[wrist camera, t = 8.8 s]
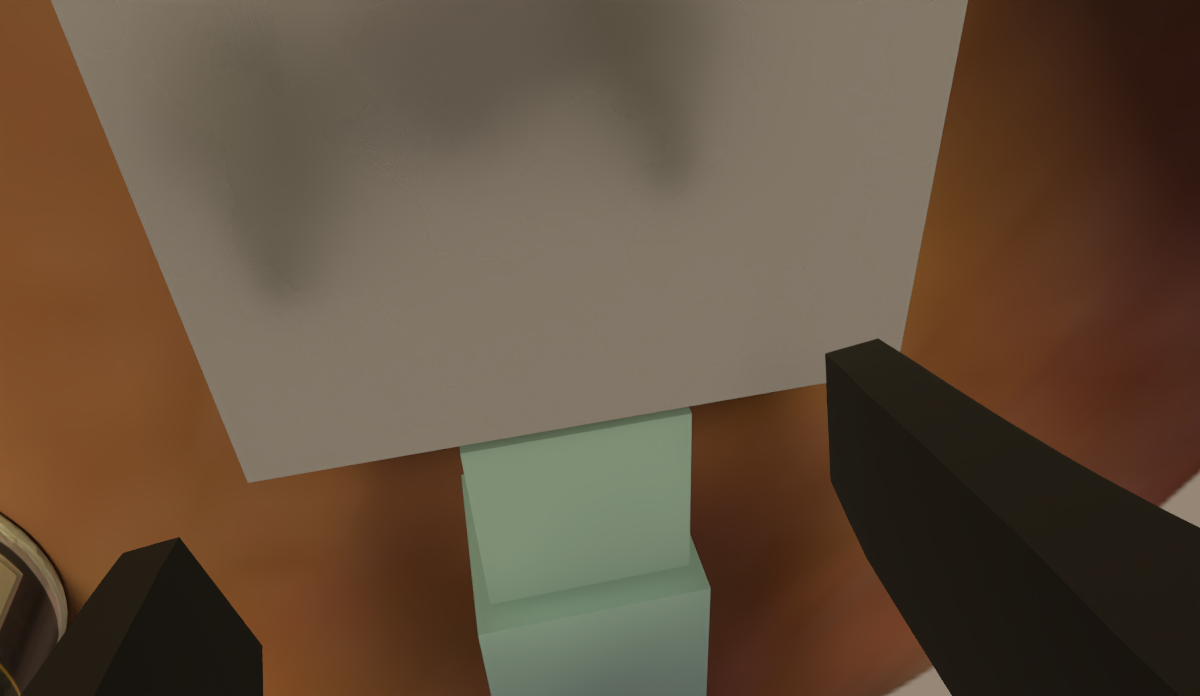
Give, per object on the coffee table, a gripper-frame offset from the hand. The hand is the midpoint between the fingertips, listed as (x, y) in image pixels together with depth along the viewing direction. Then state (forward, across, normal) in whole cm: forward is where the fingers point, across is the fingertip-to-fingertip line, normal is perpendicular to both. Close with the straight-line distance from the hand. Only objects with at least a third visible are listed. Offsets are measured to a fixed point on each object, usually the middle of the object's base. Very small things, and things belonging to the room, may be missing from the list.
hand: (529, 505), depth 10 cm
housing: (+10, -2, -2) cm, 11 cm away
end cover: (+10, 0, +9) cm, 14 cm away
